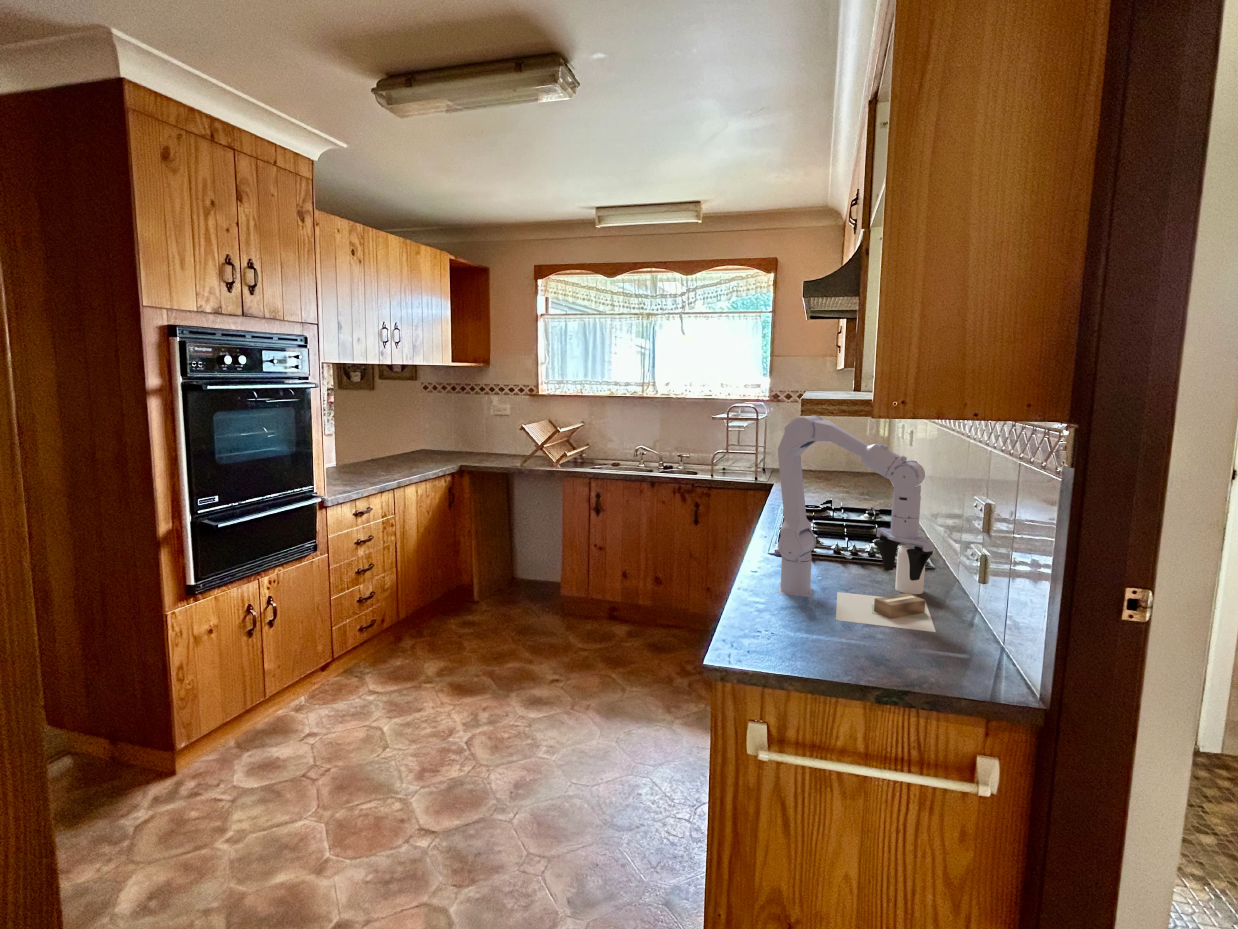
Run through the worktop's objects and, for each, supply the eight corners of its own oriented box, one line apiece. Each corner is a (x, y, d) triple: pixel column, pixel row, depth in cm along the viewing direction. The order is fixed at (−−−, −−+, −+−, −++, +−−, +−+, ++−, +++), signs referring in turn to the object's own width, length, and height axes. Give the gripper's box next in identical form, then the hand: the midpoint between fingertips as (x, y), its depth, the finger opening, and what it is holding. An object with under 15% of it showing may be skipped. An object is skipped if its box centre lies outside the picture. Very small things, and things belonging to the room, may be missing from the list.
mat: (837, 594, 164) (837, 591, 164) (925, 603, 158) (925, 601, 158) (835, 622, 146) (835, 619, 145) (935, 634, 139) (935, 631, 139)
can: (925, 597, 163) (929, 549, 161) (897, 595, 164) (901, 548, 162) (919, 589, 169) (922, 543, 167) (892, 587, 170) (895, 541, 168)
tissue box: (907, 605, 155) (908, 592, 154) (924, 612, 150) (925, 599, 150) (873, 611, 151) (874, 598, 150) (890, 618, 146) (891, 605, 146)
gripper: (867, 510, 153) (864, 567, 154) (917, 524, 139) (913, 586, 141) (891, 508, 155) (887, 564, 157) (942, 521, 142) (937, 582, 144)
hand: (901, 574), depth 149 cm, fingers open, 7 cm apart
